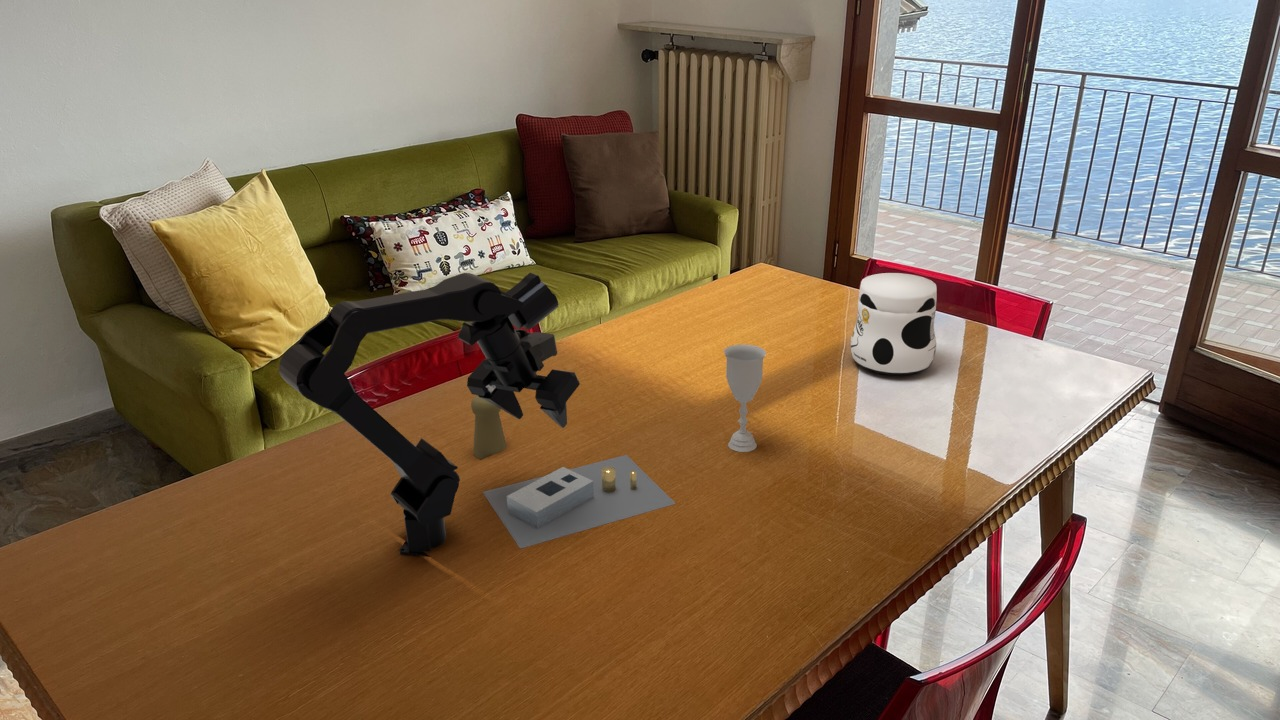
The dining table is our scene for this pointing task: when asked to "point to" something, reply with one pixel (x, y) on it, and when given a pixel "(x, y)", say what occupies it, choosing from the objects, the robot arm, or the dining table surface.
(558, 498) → the silver rectangular block
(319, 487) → the dining table surface
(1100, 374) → the dining table surface
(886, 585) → the dining table surface
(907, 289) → the milk container
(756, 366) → the chalice
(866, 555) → the dining table surface
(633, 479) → the pair of brass cylinders
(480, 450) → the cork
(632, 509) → the mount board
